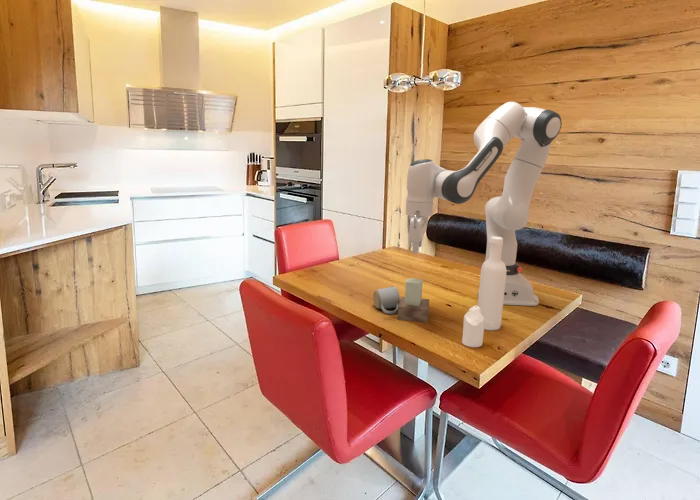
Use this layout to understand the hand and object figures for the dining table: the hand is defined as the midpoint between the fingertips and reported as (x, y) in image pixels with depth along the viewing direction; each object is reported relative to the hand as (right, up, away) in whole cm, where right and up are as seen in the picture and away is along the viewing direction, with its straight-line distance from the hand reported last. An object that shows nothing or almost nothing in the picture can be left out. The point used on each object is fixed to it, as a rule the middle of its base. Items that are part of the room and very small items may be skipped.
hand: (417, 249), depth 145 cm
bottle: (+23, -25, -3) cm, 34 cm away
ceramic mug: (-9, -22, +10) cm, 26 cm away
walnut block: (-1, -23, +4) cm, 24 cm away
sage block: (-1, -18, +3) cm, 19 cm away
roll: (+14, -28, -16) cm, 36 cm away
